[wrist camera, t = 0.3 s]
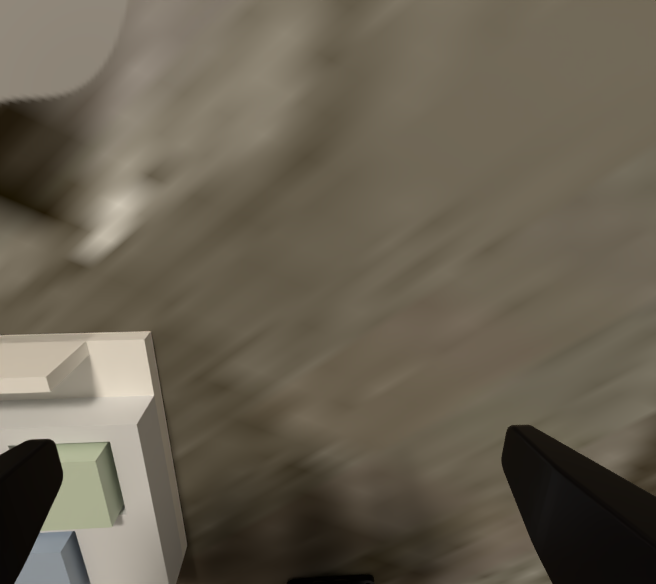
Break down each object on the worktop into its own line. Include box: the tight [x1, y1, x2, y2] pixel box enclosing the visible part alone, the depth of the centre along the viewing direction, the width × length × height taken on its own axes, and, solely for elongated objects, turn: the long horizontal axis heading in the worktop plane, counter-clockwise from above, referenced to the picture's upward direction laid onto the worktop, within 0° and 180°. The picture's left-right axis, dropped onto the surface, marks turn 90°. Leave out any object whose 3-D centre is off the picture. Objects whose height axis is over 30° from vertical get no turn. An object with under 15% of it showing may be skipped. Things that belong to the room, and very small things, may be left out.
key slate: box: [14, 531, 90, 584], centre depth 23 cm, size 4×4×2 cm
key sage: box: [41, 442, 124, 531], centre depth 21 cm, size 4×4×2 cm
